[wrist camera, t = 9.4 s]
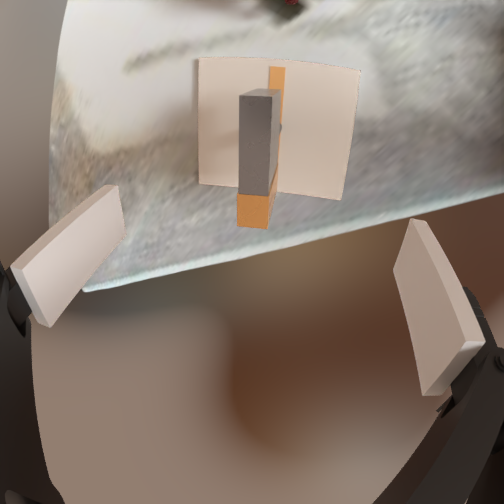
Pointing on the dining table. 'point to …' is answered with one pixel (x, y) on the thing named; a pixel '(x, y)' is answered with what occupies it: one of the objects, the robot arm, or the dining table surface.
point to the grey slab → (258, 156)
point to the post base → (291, 121)
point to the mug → (291, 1)
